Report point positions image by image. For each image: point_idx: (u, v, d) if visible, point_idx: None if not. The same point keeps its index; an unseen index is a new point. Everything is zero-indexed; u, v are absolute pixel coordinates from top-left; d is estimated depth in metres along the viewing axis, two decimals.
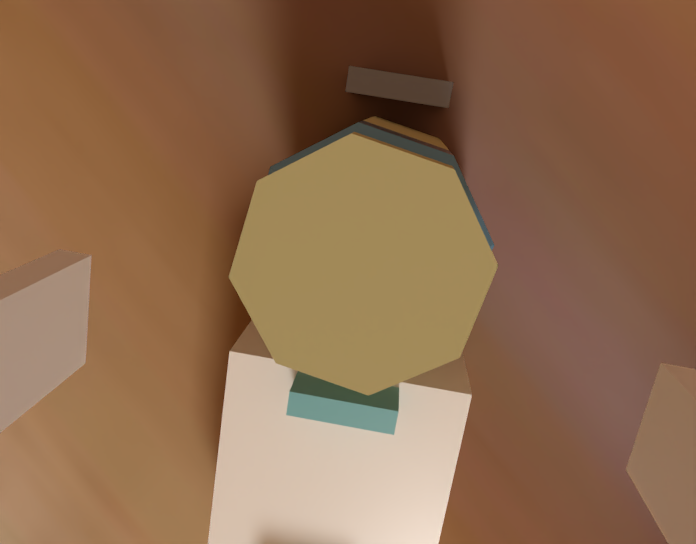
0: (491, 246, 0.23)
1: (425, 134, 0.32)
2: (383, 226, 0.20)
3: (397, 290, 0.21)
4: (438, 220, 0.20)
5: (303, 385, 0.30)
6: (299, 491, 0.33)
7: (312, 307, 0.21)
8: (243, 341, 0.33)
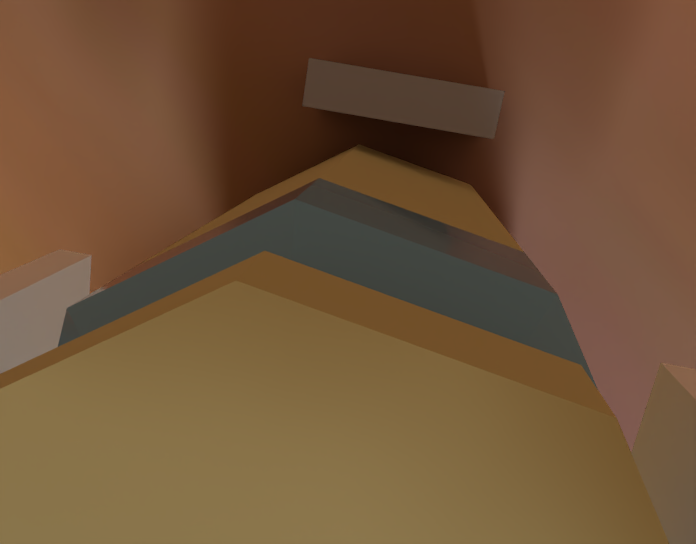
0: None
1: (449, 181, 0.18)
2: None
3: None
4: None
5: None
6: None
7: None
8: None
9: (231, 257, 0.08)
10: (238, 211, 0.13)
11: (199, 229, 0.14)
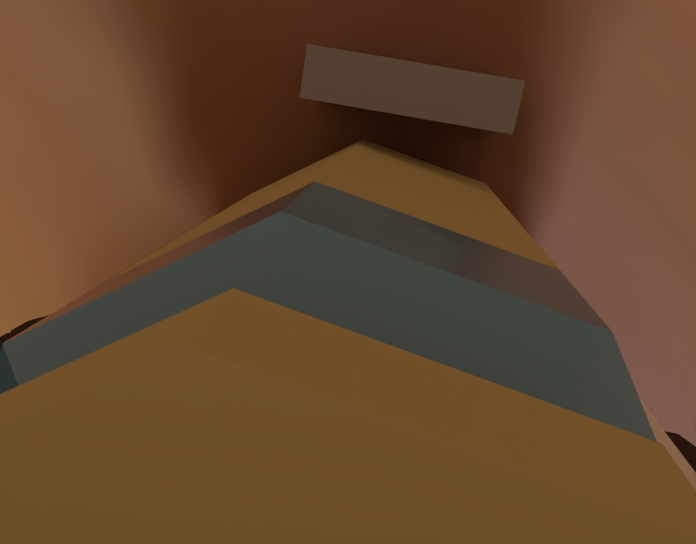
0: None
1: (462, 180, 0.16)
2: None
3: None
4: None
5: None
6: None
7: None
8: None
9: (200, 285, 0.06)
10: (224, 217, 0.11)
11: (180, 237, 0.12)
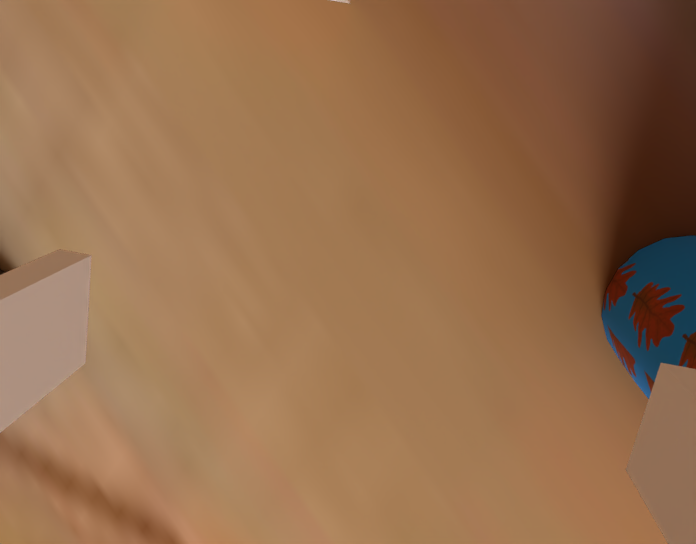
0: None
1: None
2: None
3: None
4: None
5: None
6: None
7: None
8: None
9: None
10: None
11: None
